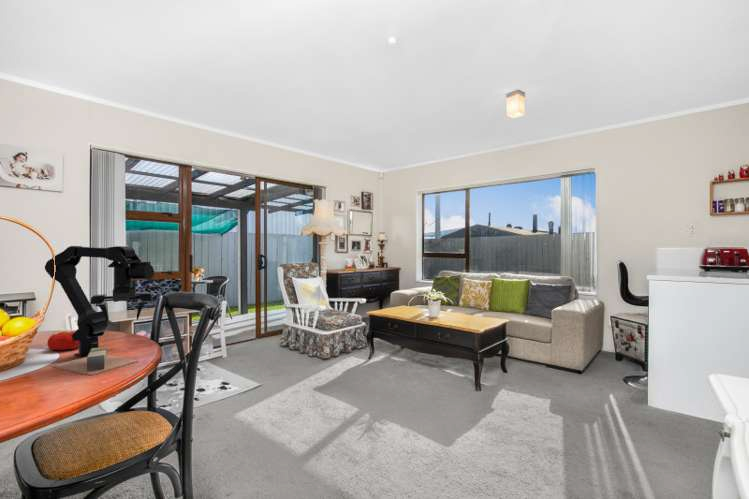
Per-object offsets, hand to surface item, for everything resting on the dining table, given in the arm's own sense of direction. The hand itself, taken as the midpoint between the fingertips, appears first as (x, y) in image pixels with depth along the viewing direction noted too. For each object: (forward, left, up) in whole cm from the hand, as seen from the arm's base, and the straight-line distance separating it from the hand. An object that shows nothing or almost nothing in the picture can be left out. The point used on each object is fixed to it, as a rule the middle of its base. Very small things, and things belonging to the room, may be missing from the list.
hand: (122, 320), depth 136 cm
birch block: (0, -8, -10) cm, 13 cm away
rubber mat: (+2, -10, -13) cm, 17 cm away
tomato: (-29, -3, -13) cm, 32 cm away
